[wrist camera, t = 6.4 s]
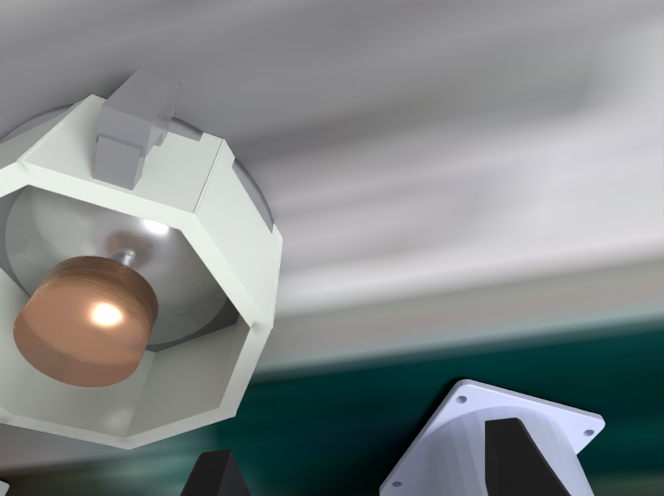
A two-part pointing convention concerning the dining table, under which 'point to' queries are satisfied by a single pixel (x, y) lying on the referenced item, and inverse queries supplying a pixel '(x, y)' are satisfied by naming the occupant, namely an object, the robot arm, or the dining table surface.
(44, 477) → the dining table surface
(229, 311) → the octagonal hollow frame
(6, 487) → the supplement box
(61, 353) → the copper-knobbed silver dome
